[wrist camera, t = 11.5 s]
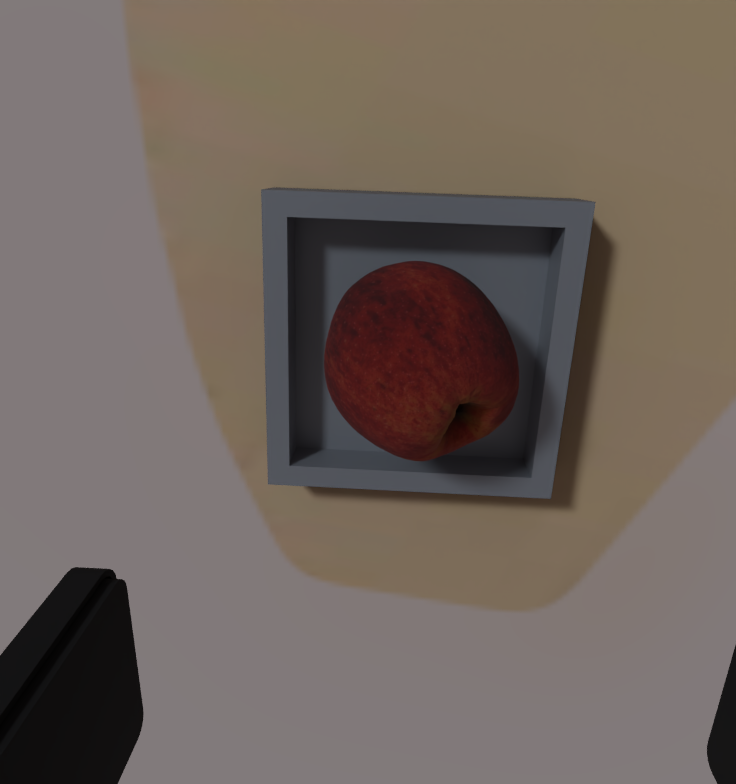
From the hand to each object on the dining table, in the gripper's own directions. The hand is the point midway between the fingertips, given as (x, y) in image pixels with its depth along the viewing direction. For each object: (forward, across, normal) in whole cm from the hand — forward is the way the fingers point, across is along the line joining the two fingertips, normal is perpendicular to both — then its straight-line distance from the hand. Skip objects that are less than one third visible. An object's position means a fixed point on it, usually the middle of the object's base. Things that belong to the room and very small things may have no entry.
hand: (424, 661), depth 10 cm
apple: (+20, 0, 0) cm, 20 cm away
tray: (+21, 0, +1) cm, 21 cm away
